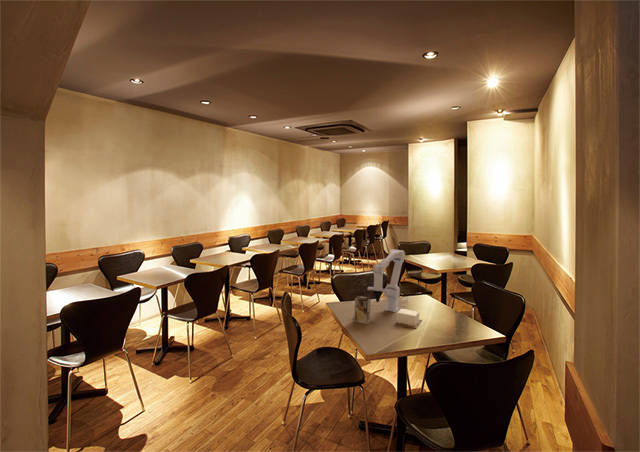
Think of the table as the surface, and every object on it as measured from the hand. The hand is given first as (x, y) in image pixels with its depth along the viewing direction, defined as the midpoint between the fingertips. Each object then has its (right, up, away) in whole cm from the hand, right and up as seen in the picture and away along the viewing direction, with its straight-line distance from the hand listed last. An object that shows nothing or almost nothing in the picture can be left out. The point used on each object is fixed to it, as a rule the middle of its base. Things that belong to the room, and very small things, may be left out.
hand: (377, 301), depth 228 cm
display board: (+19, -12, -10) cm, 25 cm away
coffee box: (-12, -11, -8) cm, 18 cm away
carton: (+13, -7, -7) cm, 16 cm away
